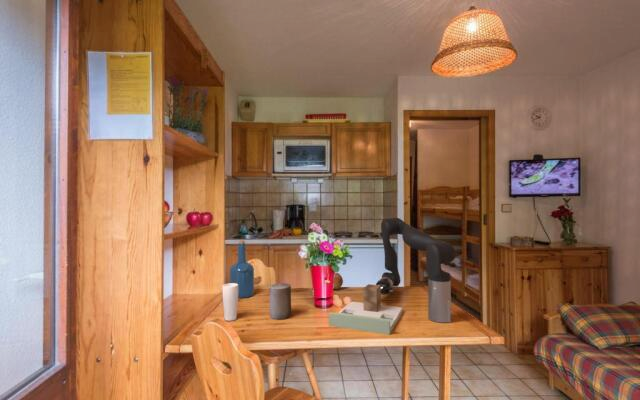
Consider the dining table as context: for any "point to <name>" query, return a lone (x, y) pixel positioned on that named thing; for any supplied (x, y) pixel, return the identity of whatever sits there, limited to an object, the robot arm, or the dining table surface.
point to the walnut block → (372, 298)
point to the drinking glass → (230, 301)
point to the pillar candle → (280, 301)
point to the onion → (337, 281)
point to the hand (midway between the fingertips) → (376, 293)
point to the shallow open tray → (366, 318)
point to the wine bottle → (242, 273)
